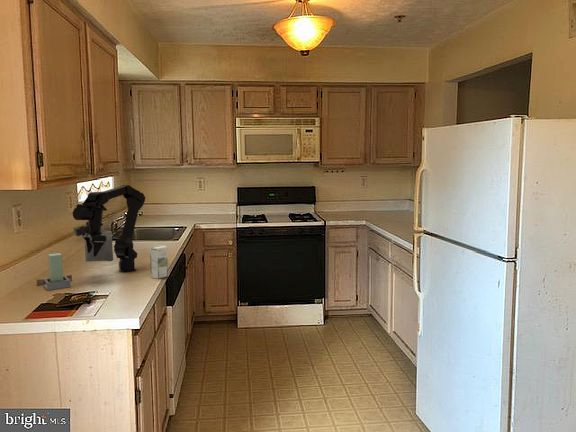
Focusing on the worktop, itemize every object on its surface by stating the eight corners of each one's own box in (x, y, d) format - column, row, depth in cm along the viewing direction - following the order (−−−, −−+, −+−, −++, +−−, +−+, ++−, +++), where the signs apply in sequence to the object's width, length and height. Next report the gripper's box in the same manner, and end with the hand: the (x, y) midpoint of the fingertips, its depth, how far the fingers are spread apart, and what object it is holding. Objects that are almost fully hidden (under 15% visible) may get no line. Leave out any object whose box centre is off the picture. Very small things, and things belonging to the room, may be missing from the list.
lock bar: (61, 284, 210) (59, 253, 208) (63, 286, 206) (61, 254, 205) (50, 286, 207) (48, 254, 206) (52, 288, 204) (50, 256, 202)
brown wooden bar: (71, 279, 217) (70, 274, 217) (72, 280, 216) (71, 275, 216) (36, 284, 209) (36, 279, 209) (37, 285, 208) (37, 280, 208)
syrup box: (160, 274, 226) (159, 244, 224) (168, 276, 222) (167, 246, 220) (150, 277, 221) (149, 246, 220) (158, 279, 218) (157, 248, 216)
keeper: (66, 282, 213) (65, 275, 213) (70, 286, 206) (70, 280, 205) (43, 285, 208) (43, 278, 207) (47, 290, 201) (46, 283, 200)
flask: (87, 259, 259) (85, 226, 257) (114, 259, 260) (112, 226, 258) (84, 261, 256) (82, 227, 254) (112, 260, 256) (110, 227, 254)
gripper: (70, 216, 218) (67, 250, 218) (81, 221, 203) (78, 258, 204) (96, 218, 225) (92, 251, 225) (108, 223, 210) (104, 258, 211)
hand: (91, 254), depth 216 cm, fingers open, 9 cm apart
